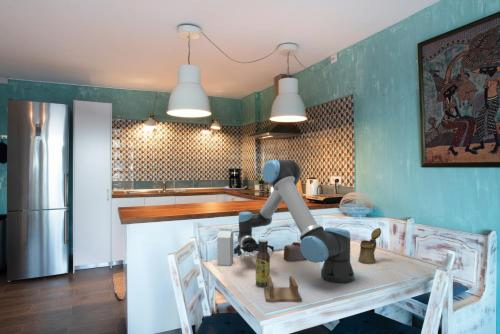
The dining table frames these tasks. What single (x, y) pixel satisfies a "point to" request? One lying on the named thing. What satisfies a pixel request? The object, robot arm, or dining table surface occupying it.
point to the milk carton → (225, 247)
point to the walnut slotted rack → (282, 292)
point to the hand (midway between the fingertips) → (257, 254)
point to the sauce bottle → (262, 264)
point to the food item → (293, 252)
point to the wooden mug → (369, 248)
